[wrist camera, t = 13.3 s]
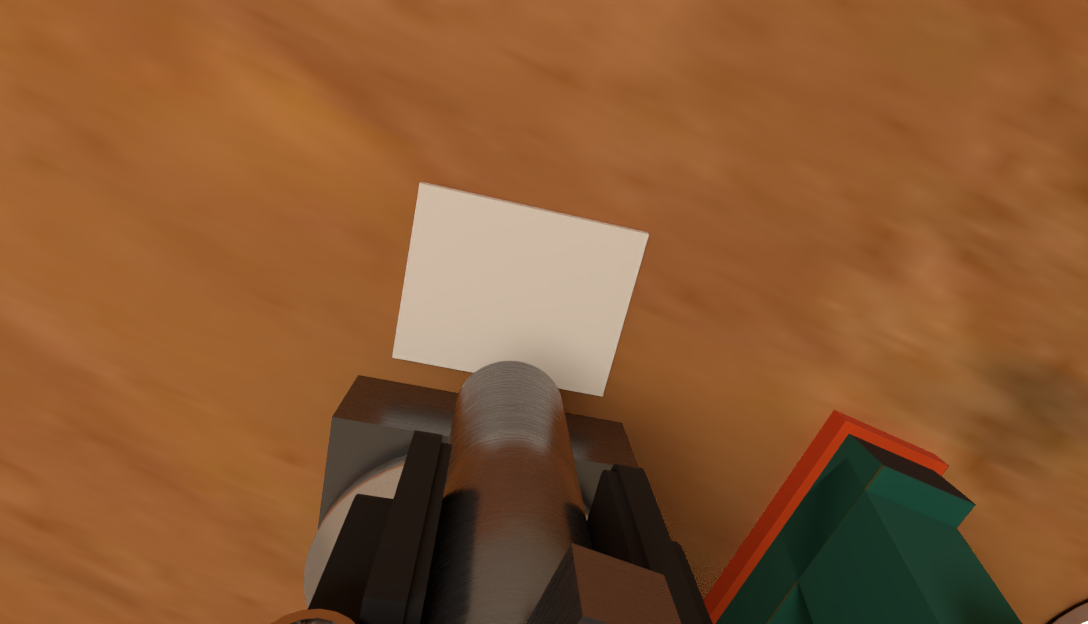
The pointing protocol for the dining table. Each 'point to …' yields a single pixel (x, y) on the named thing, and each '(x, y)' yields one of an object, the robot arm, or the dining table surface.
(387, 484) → the collar
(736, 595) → the power tool
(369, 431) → the stand
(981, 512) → the dining table surface
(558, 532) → the chuck key
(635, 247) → the key mat
